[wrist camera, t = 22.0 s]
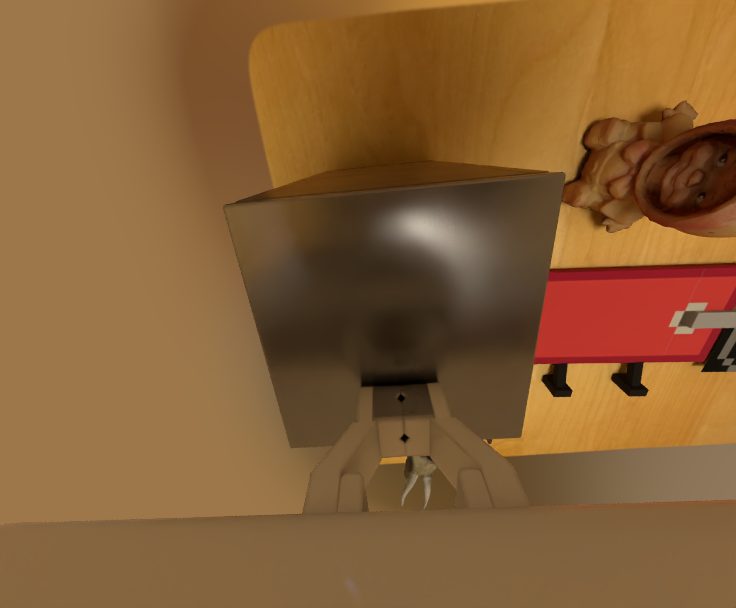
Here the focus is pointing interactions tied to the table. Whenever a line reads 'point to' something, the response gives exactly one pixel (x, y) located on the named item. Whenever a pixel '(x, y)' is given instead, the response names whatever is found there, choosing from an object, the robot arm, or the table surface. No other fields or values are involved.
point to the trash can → (387, 178)
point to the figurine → (660, 173)
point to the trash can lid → (400, 296)
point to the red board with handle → (637, 320)
